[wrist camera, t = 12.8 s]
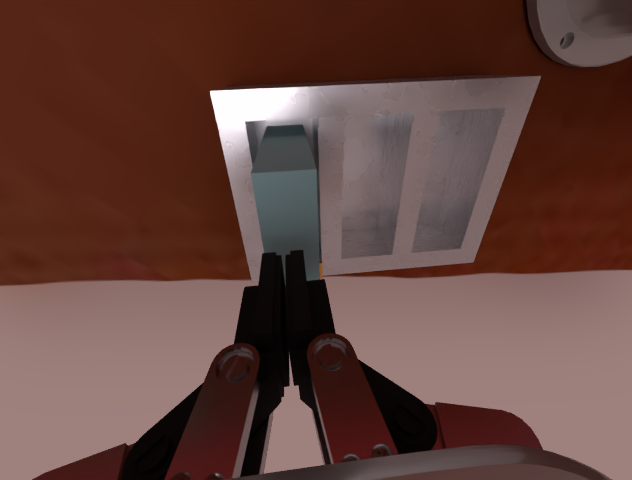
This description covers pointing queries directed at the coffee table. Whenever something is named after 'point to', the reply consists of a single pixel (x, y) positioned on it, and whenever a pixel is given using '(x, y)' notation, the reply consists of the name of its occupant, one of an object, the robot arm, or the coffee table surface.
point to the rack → (384, 162)
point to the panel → (287, 195)
